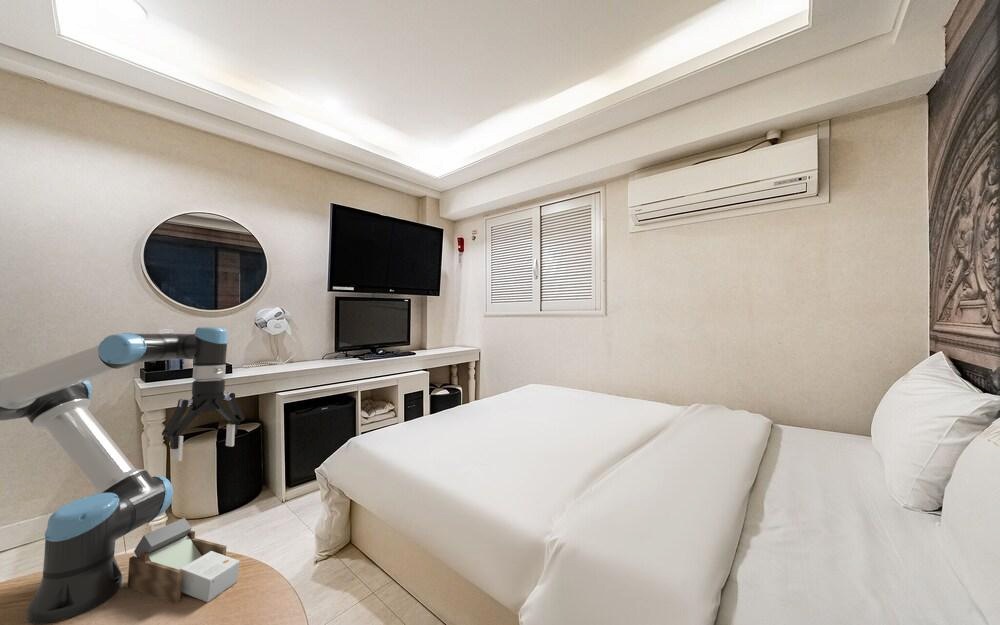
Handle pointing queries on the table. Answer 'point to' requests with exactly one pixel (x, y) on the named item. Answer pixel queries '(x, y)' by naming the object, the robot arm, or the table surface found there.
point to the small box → (209, 576)
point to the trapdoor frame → (164, 572)
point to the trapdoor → (169, 545)
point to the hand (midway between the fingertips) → (205, 452)
